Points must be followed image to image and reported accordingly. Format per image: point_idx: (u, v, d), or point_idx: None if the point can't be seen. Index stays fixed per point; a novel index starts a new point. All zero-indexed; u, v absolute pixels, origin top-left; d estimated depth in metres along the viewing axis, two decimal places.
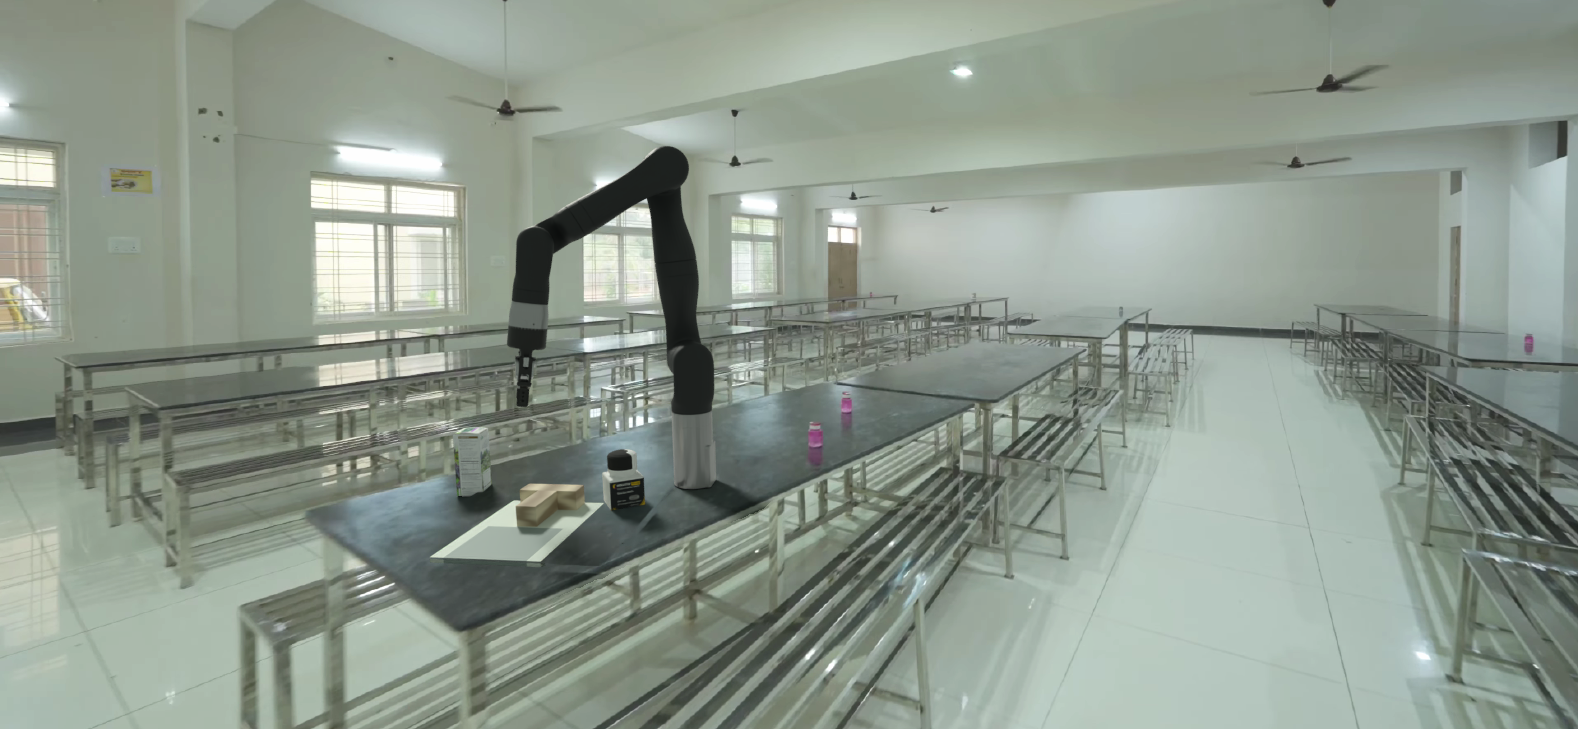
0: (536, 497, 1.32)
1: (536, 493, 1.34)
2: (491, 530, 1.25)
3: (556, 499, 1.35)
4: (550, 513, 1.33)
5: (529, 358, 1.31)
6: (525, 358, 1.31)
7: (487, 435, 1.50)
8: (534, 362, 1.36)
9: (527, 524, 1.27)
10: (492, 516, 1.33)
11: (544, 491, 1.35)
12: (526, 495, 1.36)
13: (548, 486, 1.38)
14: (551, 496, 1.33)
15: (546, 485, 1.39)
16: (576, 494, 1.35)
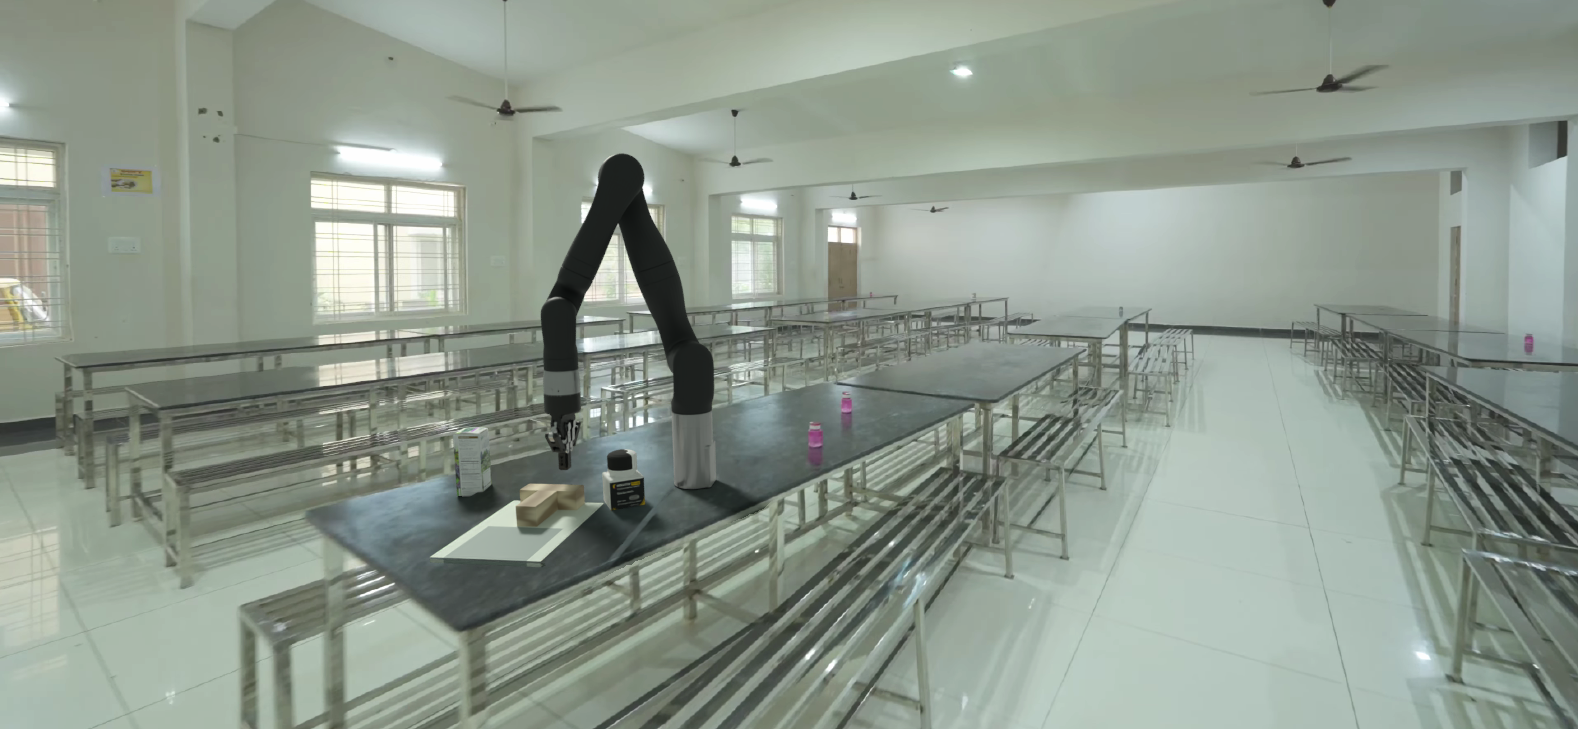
0: (536, 497, 1.32)
1: (536, 493, 1.34)
2: (491, 530, 1.25)
3: (556, 499, 1.35)
4: (550, 513, 1.33)
5: (553, 436, 1.37)
6: (550, 436, 1.37)
7: (487, 435, 1.50)
8: (567, 428, 1.41)
9: (527, 524, 1.27)
10: (492, 516, 1.33)
11: (544, 491, 1.35)
12: (526, 495, 1.36)
13: (548, 486, 1.38)
14: (551, 496, 1.33)
15: (546, 485, 1.39)
16: (576, 494, 1.35)
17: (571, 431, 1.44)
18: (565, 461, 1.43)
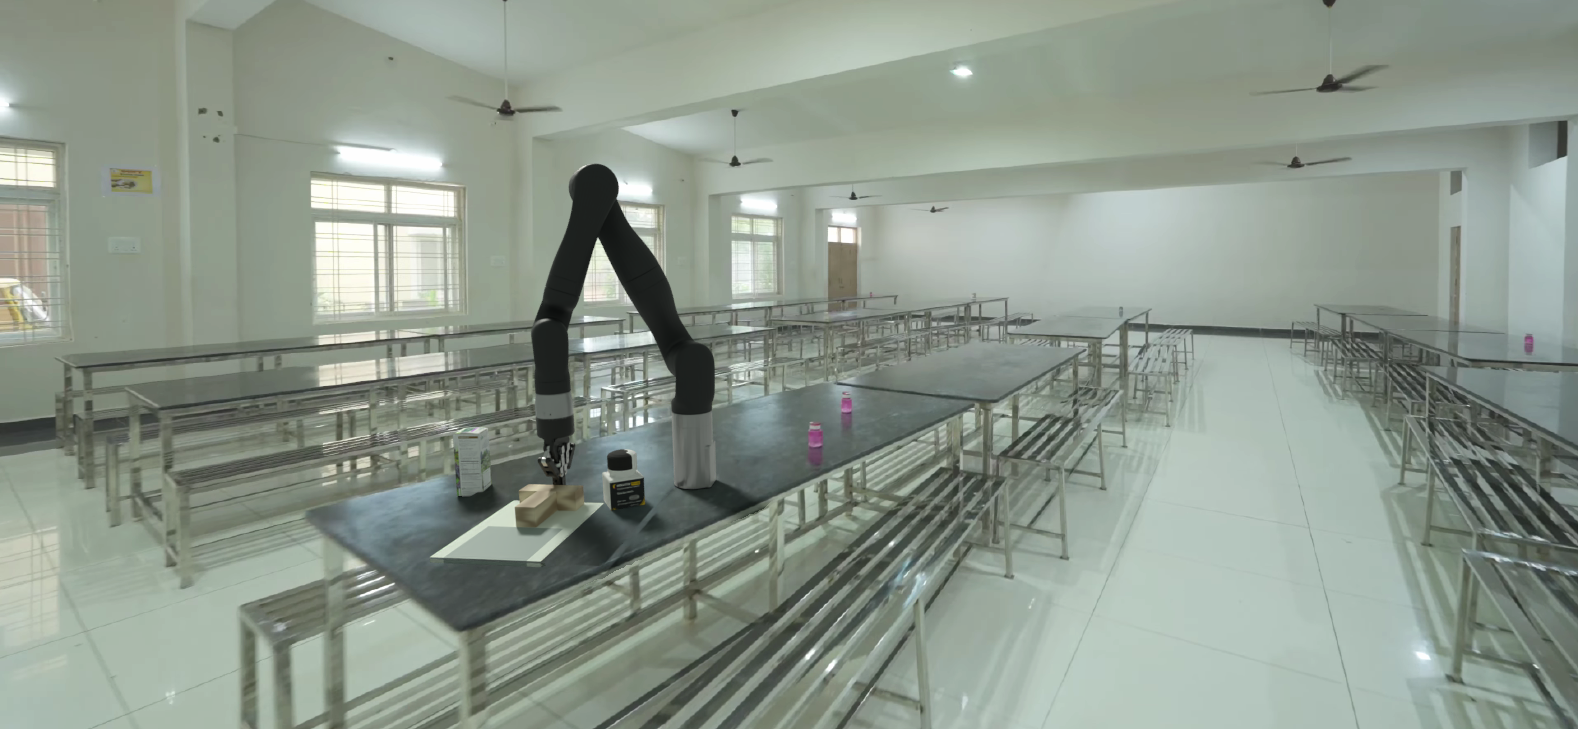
0: (535, 497, 1.31)
1: (535, 494, 1.34)
2: (491, 530, 1.25)
3: (555, 500, 1.35)
4: (549, 514, 1.32)
5: (546, 461, 1.34)
6: (542, 461, 1.34)
7: (487, 435, 1.50)
8: (560, 452, 1.38)
9: (526, 525, 1.27)
10: (492, 516, 1.33)
11: (543, 492, 1.35)
12: (525, 496, 1.36)
13: (547, 487, 1.38)
14: (550, 497, 1.33)
15: (545, 486, 1.38)
16: (576, 494, 1.35)
17: (565, 454, 1.41)
18: None
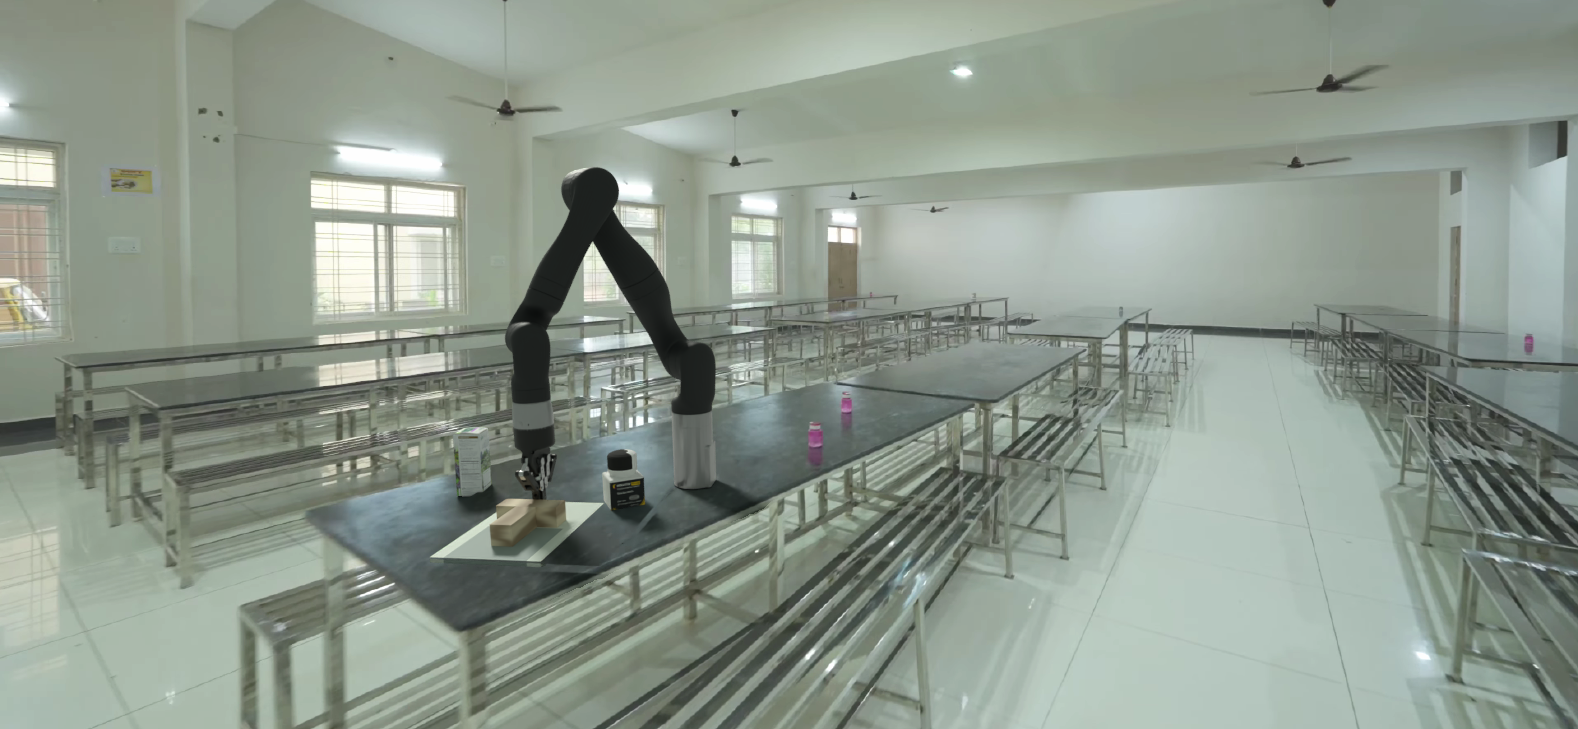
0: (513, 514, 1.23)
1: (513, 509, 1.25)
2: None
3: (535, 516, 1.26)
4: (528, 531, 1.24)
5: (523, 474, 1.25)
6: (520, 475, 1.25)
7: (487, 435, 1.50)
8: (540, 464, 1.29)
9: (502, 544, 1.18)
10: (492, 516, 1.33)
11: (522, 507, 1.26)
12: (503, 512, 1.27)
13: (527, 501, 1.29)
14: (529, 513, 1.24)
15: (525, 500, 1.30)
16: (557, 510, 1.26)
17: (545, 466, 1.32)
18: (539, 499, 1.31)
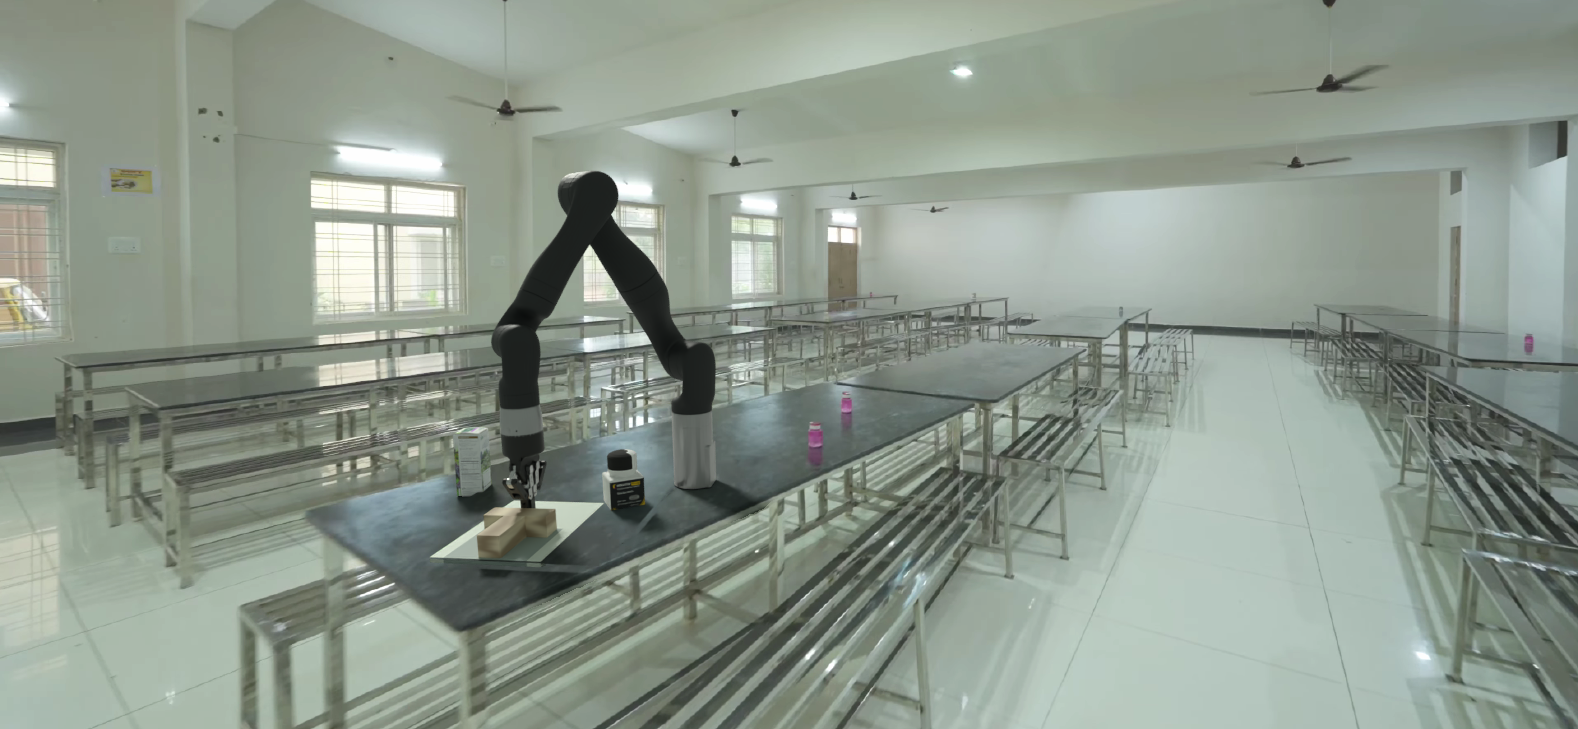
0: (501, 524, 1.18)
1: (501, 519, 1.20)
2: None
3: (524, 525, 1.21)
4: (517, 542, 1.19)
5: (511, 482, 1.21)
6: (508, 483, 1.21)
7: (487, 435, 1.50)
8: (529, 472, 1.25)
9: (490, 555, 1.14)
10: None
11: (511, 517, 1.21)
12: (491, 521, 1.22)
13: (516, 510, 1.24)
14: (518, 523, 1.19)
15: (513, 509, 1.25)
16: (547, 519, 1.22)
17: (534, 474, 1.27)
18: None
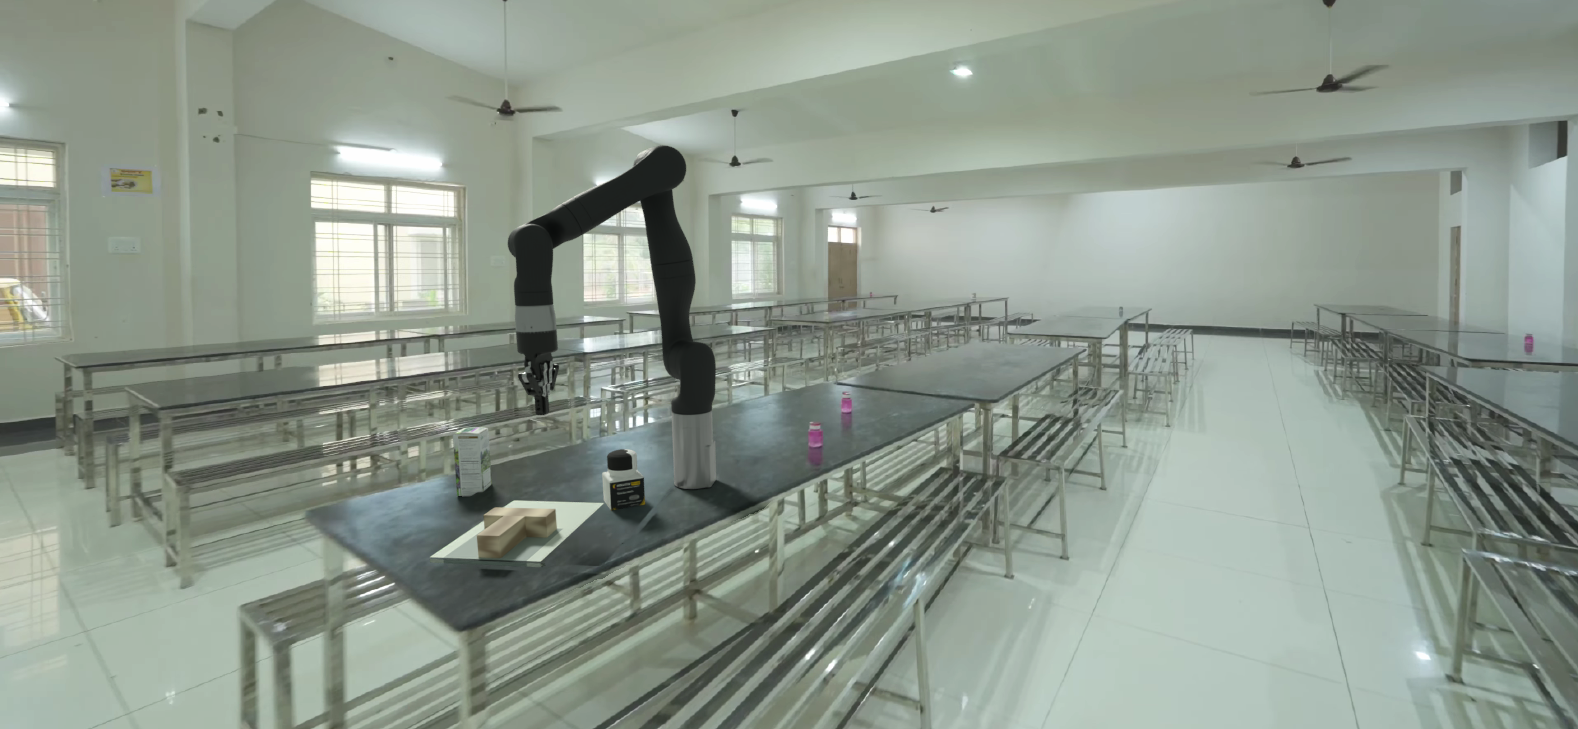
0: (501, 524, 1.18)
1: (501, 519, 1.20)
2: None
3: (524, 525, 1.21)
4: (517, 542, 1.19)
5: (527, 376, 1.26)
6: (523, 376, 1.26)
7: (487, 435, 1.50)
8: (543, 369, 1.30)
9: (490, 555, 1.14)
10: None
11: (511, 517, 1.21)
12: (491, 521, 1.22)
13: (516, 510, 1.24)
14: (518, 523, 1.19)
15: (513, 509, 1.25)
16: (547, 519, 1.22)
17: (548, 373, 1.32)
18: (542, 405, 1.32)
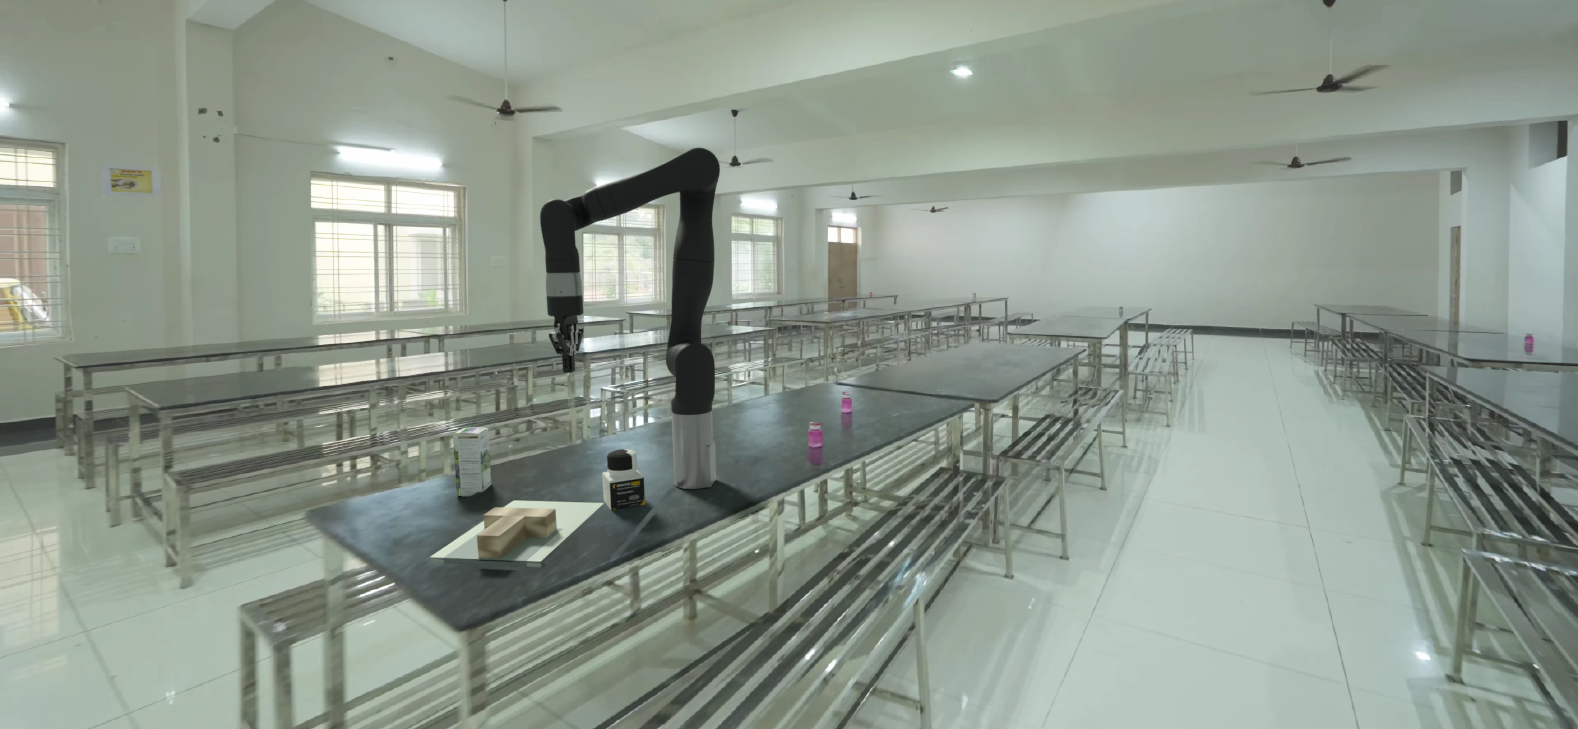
0: (501, 524, 1.18)
1: (501, 519, 1.20)
2: None
3: (524, 525, 1.21)
4: (517, 542, 1.19)
5: (556, 335, 1.40)
6: (553, 335, 1.40)
7: (487, 435, 1.50)
8: (570, 330, 1.44)
9: (490, 555, 1.14)
10: None
11: (511, 517, 1.21)
12: (491, 521, 1.22)
13: (516, 510, 1.24)
14: (518, 523, 1.19)
15: (513, 509, 1.25)
16: (547, 519, 1.22)
17: (574, 334, 1.47)
18: (569, 363, 1.46)
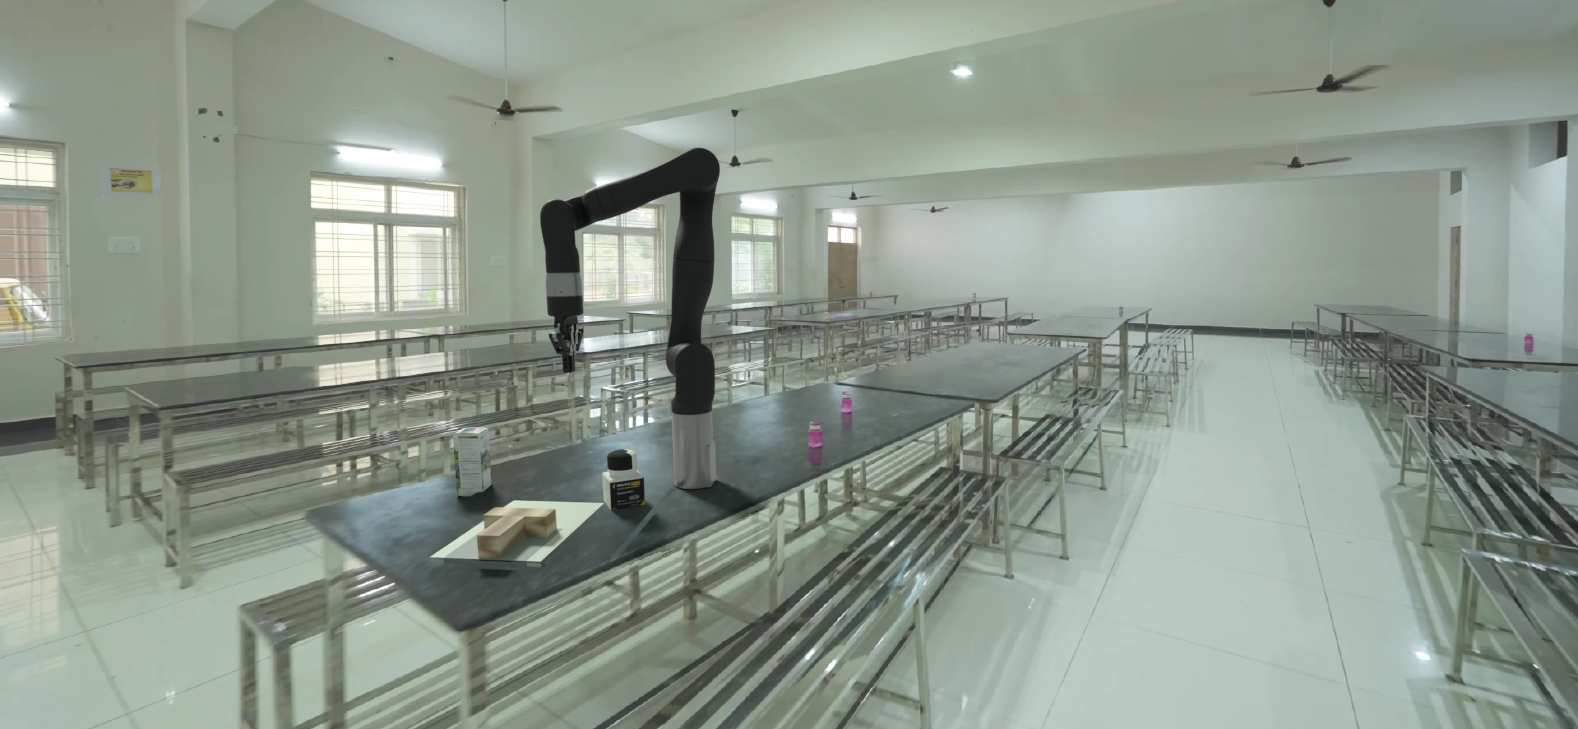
0: (501, 524, 1.18)
1: (501, 519, 1.20)
2: None
3: (524, 525, 1.21)
4: (517, 542, 1.19)
5: (556, 335, 1.40)
6: (553, 335, 1.40)
7: (487, 435, 1.50)
8: (570, 330, 1.44)
9: (490, 555, 1.14)
10: None
11: (511, 517, 1.21)
12: (491, 521, 1.22)
13: (516, 510, 1.24)
14: (518, 523, 1.19)
15: (513, 509, 1.25)
16: (547, 519, 1.22)
17: (574, 334, 1.47)
18: (569, 363, 1.46)
